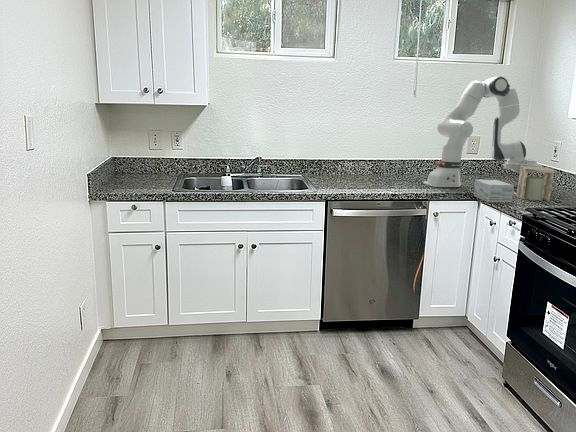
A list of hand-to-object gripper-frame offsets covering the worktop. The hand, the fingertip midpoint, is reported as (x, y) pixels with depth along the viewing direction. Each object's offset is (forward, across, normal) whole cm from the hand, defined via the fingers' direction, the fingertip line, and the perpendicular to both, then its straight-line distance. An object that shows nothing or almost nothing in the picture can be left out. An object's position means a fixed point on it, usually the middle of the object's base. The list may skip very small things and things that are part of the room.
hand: (526, 168), depth 284 cm
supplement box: (+23, -22, +16) cm, 35 cm away
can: (+15, +1, +14) cm, 21 cm away
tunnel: (+7, +1, +14) cm, 16 cm away
